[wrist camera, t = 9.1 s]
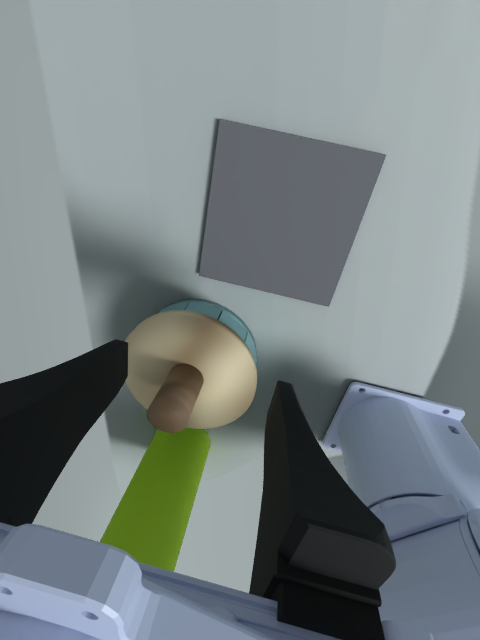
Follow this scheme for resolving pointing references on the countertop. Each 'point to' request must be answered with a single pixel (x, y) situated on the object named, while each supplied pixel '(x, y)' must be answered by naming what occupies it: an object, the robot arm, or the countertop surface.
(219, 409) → the lid
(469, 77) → the countertop surface
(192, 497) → the soap dispenser
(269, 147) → the mat
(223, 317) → the bowl
